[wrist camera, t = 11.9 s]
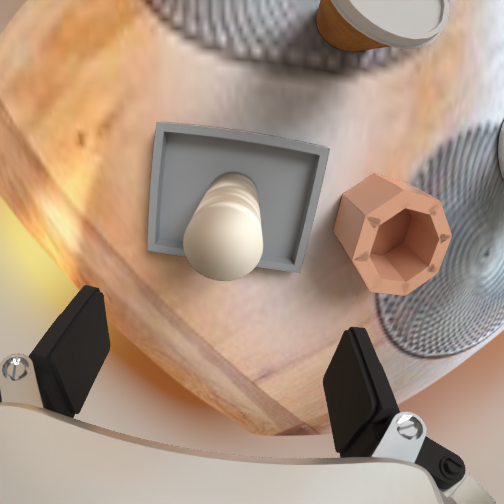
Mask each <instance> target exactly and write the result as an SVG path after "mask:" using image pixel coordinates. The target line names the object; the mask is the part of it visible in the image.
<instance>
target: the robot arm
mask: <svg viewBox="0 0 504 504" xmlns="http://www.w3.org/2000/svg"><path fill="white" fill-rule="evenodd" d="M498 157H499V166H500V170H501V174H502V177H503V180H504V122H503V125H502V128H501V132H500V136H499V145H498ZM109 350H110V339H109V333H108V326H107V319H106V312H105V304H104V295H103V293H101V292H100V290H99V288H96V287H92V286H87V285H85V286H83V288H82V289H81V290H80V291H79V292H78V294H77V295H76V296H75V297H74V299H73V300H72V301H71V302H70V304H69V305H68V306H67V307H66V309H65V310H64V311H63V312H62V314H60V315H59V316H58V318H57V319H56V320H55V321H54V323H53V324H52V325H51V327H50V328H49V329H48V331H47V332H46V333H45V335H44V336H43V338H42V339H41V340H40V341H39V343H38V344H37V346H36V347H35V348H34V350H33V351H32V352H31V354H30V355H29V357H28V356H26V355H24V354H19V353H18V354H12V355H9V356H7V357H6V358H4V359H3V361H2V362H1V363H0V504H496V502H495V500H494V499H493V498H492V497H491V496H490V495H489V494H488V493H487V492H486V491H485V490H484V489H483V488H482V487H481V486H480V484H479V483H477V482H476V480H475V479H474V478H473V477H472V476H471V475H468V476H466V475H465V465H464V462H463V460H462V459H461V458H460V457H459V456H458V455H456V454H455V453H453V452H451V451H450V450H448V449H446V448H444V447H442V446H441V445H439V444H438V443H436V442H434V441H433V440H431V439H429V438H428V437H426V431H427V430H426V425H425V423H424V421H423V420H422V419H421V418H420V417H419V416H417V415H416V414H414V413H411V412H400V411H399V408H398V406H397V403H396V400H395V398H394V395H393V392H392V390H391V387H390V385H389V382H388V380H387V377H386V374H385V372H384V370H383V367H382V365H381V363H380V362H379V360H378V357H377V355H376V352H375V350H374V348H373V345H372V343H371V340H370V338H369V336H368V333H367V331H366V329H365V328H359V327H350V328H349V330H345V331H344V333H343V335H342V338H341V340H340V342H339V345H338V347H337V349H336V351H335V354H334V356H333V358H332V360H331V362H330V364H329V367H328V369H327V371H326V373H325V375H324V378H323V386H324V391H325V396H326V401H327V407H328V412H329V417H330V422H331V428H332V433H333V439H334V444H335V449H336V452H337V453H340V457H341V458H272V457H255V456H243V455H233V454H225V453H217V452H208V451H202V450H195V449H190V448H184V447H179V446H173V445H168V444H163V443H159V442H154V441H149V440H145V439H141V438H137V437H133V436H129V435H126V434H122V433H118V432H115V431H111V430H108V429H105V428H101V427H98V426H95V425H92V424H88V423H85V422H82V421H79V420H76V419H73V417H74V415H75V414H78V413H79V412H80V411H81V408H82V406H83V404H84V402H85V400H86V398H87V396H88V393H89V391H90V389H91V387H92V385H93V383H94V381H95V379H96V377H97V374H98V372H99V371H100V369H101V366H102V365H103V363H104V360H105V359H106V357H107V355H108V353H109Z"/></svg>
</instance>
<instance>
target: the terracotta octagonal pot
mask: <svg viewBox="0 0 504 504" xmlns="http://www.w3.org/2000/svg"><path fill="white" fill-rule="evenodd" d="M333 232H334V233H335V235H336V237H337V238H338V240H339V241H340V243H341V245H342V246H343V248H344V250H345V251H346V253H347V255H348V256H349V258H350V260H351V261H352V263H353V264H354V266H355V268H356V269H357V271H358V272H359V274H360V276H361V277H362V279H363V281H364V282H365V284H366V285H367V287H368V289H369V290H370V292H376V293H385V294H394V295H403V296H406V295H407V294H409V293H410V292H412V291H413V290H415V289H416V288H417V287H419V286H420V285H422V284H423V283H425V282H426V281H428V280H429V279H430V278H432V277H433V276H435V275H436V274H437V273H438V271H439V269H440V266H441V264H442V261H443V259H444V256H445V254H446V251H447V248H448V246H449V243H450V240H451V237H452V234H451V231H450V228H449V225H448V222H447V219H446V216H445V213H444V210H443V208H442V205H441V202H440V201H439V200H438V199H436V198H434V197H432V196H431V195H429V194H427V193H425V192H423V191H421V190H420V189H418V188H416V187H414V186H412V185H410V184H408V183H406V182H403V181H400V180H396V179H393V178H389V177H385V176H382V175H378V174H373V175H371V176H370V177H368V178H367V179H365V180H364V181H362V182H360V183H359V184H357V185H356V186H354V187H353V188H351V189H350V190H348V191H347V192H345V193H344V194H342V198H341V202H340V206H339V210H338V214H337V218H336V221H335V225H334V229H333Z"/></svg>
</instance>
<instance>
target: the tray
mask: <svg viewBox="0 0 504 504" xmlns="http://www.w3.org/2000/svg"><path fill="white" fill-rule="evenodd" d="M329 151H330V149H329V148H327V147H325V146H321V145H316V144H312V143H307V142H302V141H297V140H292V139H287V138H282V137H277V136H271V135H265V134H259V133H253V132H247V131H240V130H234V129H226V128H219V127H211V126H202V125H193V124H183V123H172V122H157V123H156V132H155V140H154V150H153V160H152V171H151V184H150V199H149V218H148V247H147V251H153V252H159V253H166V254H172V255H179V256H185V257H186V255H185V252H184V247H183V239H184V234H185V231H186V229H187V226H188V225H189V223H190V221H191V219H192V217H193V215H194V213H195V211H196V210H197V208H198V206H199V204H200V202H201V200H202V199H203V197H204V195H205V193H206V191H207V190H208V188H209V186H210V184H211V183H212V181H213V180H214V179H215V178H216V177H217V176H219V175H220V174H223V173H225V172H232V171H234V172H240V173H243V174H245V175H247V176H248V177H249V178H250V179H252V181H253V182H254V183H255V185H256V187H257V190H258V197H259V207H260V217H261V227H262V238H263V252H262V255H261V258H260V261H259V262H258V264H257V265H256V267H260V268H267V269H274V270H281V271H289V272H296V273H300V271H301V268H302V264H303V260H304V256H305V252H306V249H307V245H308V241H309V237H310V233H311V229H312V225H313V221H314V217H315V213H316V208H317V204H318V200H319V196H320V191H321V187H322V183H323V178H324V174H325V170H326V165H327V160H328V156H329Z"/></svg>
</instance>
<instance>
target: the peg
mask: <svg viewBox="0 0 504 504" xmlns="http://www.w3.org/2000/svg"><path fill="white" fill-rule="evenodd" d="M183 247H184V252H185V255H186V258H187V260H188V261H189V263H190V264H191V266H192V267H193V268H194V269H195V270H196V271H197V272H199V273H200V274H202V275H203V276H205V277H208V278H210V279H213V280H218V281H230V280H235V279H239V278H241V277H243V276H245V275H247V274H248V273H250V272H251V271H252V270H253V269H254V268H255V267H256V265H257V264H258V262H259V261H260V258H261V255H262V252H263V238H262V227H261V217H260V207H259V197H258V190H257V187H256V185H255V183H254V182H253V181H252V179H250V178H249V177H248V176H247V175H245V174H243V173H240V172H234V171H232V172H225V173H223V174H220V175H219V176H217V177H216V178H215V179H214V180H213V181H212V183H211V184H210V186H209V188H208V190H207V191H206V193H205V195H204V197H203V199H202V200H201V202H200V204H199V206H198V208H197V210H196V211H195V213H194V215H193V217H192V219H191V221H190V223H189V225H188V226H187V229H186V231H185V234H184V239H183Z"/></svg>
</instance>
